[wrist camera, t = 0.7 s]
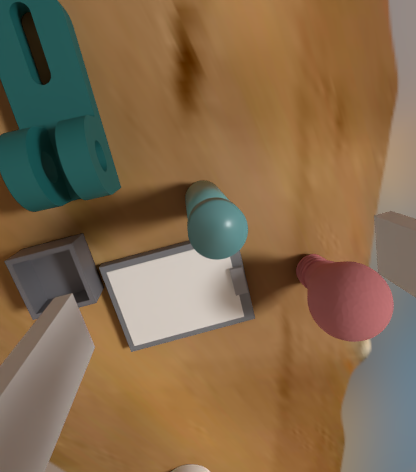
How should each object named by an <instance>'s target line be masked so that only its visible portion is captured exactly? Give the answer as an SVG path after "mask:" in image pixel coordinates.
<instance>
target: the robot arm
mask: <svg viewBox="0 0 416 472" xmlns="http://www.w3.org/2000/svg"><path fill="white" fill-rule="evenodd" d="M374 221H375V235H376V249H377V263H378V273H379V274H380V275H382V276H383V277H385V278H386V279H388V280H390V281H391V282H393V283H394V284H396V285H397V286H399V287H400V288H402V289H403V290H405V291H406V292H408V293H410V294H411V295H412V296H414V297H416V219H414V218H411V217H408V216H405V215H402V214H399V213H395V212H392V211H390V212H386V213H382V214H378V215H374ZM94 348H95V346H94V344H93V341H92V339H91V336H90V334H89V332H88V329H87V327H86V325H85V322H84V320H83V317H82V315H81V313H80V310H79V308H78V305H77V303H76V301H75V298H74V296H73V293H71V294H67V295H63V296H59V297H55V298H54V299H53V300H52V301H51V303H50V304H49V305H48V306H47V308H46V309H45V310H44V311H43V313H42V314H41V315H40V316H39V318H38V319H37V320H36V321H35V323H34V324H33V325H32V327H31V328H30V329H29V330H28V332H27V333H26V334H25V335H24V337H23V338H22V339H21V340H20V342H19V343H18V344H17V345H16V347H15V348H14V349H13V351H12V352H11V353H10V354H9V356H8V357H7V358H6V359H5V361H4V362H3V363H2V364H1V366H0V472H45V469H46V467H47V464H48V462H49V460H50V457H51V455H52V452H53V450H54V447H55V445H56V442H57V440H58V437H59V435H60V432H61V430H62V427H63V425H64V422H65V420H66V418H67V415H68V413H69V410H70V408H71V405H72V403H73V400H74V398H75V395H76V393H77V390H78V388H79V385H80V383H81V380H82V378H83V375H84V373H85V370H86V368H87V365H88V363H89V361H90V358H91V356H92V353H93V351H94Z"/></svg>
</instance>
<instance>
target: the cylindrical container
mask: <svg viewBox="0 0 416 472" xmlns="http://www.w3.org/2000/svg"><path fill="white" fill-rule="evenodd" d="M171 472H210V471H209V470H208V469H207V468H205V467H203V466H200V465H194V464H190V465H183V466H180V467H178V468H176V469H174V470H172V471H171Z"/></svg>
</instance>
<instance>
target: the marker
mask: <svg viewBox="0 0 416 472" xmlns="http://www.w3.org/2000/svg"><path fill="white" fill-rule="evenodd" d="M185 202H186V210H187V218H188V222H187V229H188V237H189V241H190V243H191V245H192V247H193V248H194V249H195V251H196V252H198V253H199V254H200V255H202V256H204V257H206V258H209V259H214V260H219V259H225V258H228V257H230V256H232V255H234V254H236V253H237V252H238V251H239V250H240V249H241V248H242V246H243V245H244V243H245V241H246V238H247V234H248V225H247V221H246V218H245V216H244V215H243V213H242V212H241V211H240V210H239V208H238V207H237V206H236V205H235V204H233V203H232V202H231V201H229V200H228V199H227V197H226V196H225V195H224V194H223V193H222V192H221V191H220V190H219V188H218V187H217V186H216V185H215V184H213V183H212V182H209V181H204V180H202V181H197V182H195V183H193V184H192V185H191V186H190V187H189V188H188V190H187V192H186V195H185Z"/></svg>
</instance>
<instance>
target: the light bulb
mask: <svg viewBox="0 0 416 472" xmlns="http://www.w3.org/2000/svg"><path fill="white" fill-rule="evenodd" d="M296 275H297V277H298V279H299V281H300V282H301V283H302V284H303V285H304V286H305V287H306V288H307V289H308V306H309V310H310V313H311V315H312V317H313V319H314V320H315V322H316V323H317V324H318V326H319V327H320V328H321V329H323V330H324V331H325V332H326V333H328V334H329V335H331V336H333V337H335V338H338V339H341V340H345V341H363V340H367V339H370V338H373V337H374V336H376V335H378V334H379V333H380V332H382V331H383V329H385V327H386V326H387V325H388V323H389V321H390V319H391V316H392V313H393V297H392V293H391V290H390V288H389V286H388V284H387V283H386V281H385V280H384V279H383V278H382V277H381V276H380V275H379V274H378V273H377V272H376V271H374V270H373V269H371V268H370V267H368V266H366V265H363V264H360V263H356V262H332V261H328V260H326V259H325V258H323V257H321V256H319V255H316V254H310V255H307V256H305V257H304V258H302V259H301V260H300V262H299V263H298V265H297V269H296Z"/></svg>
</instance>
